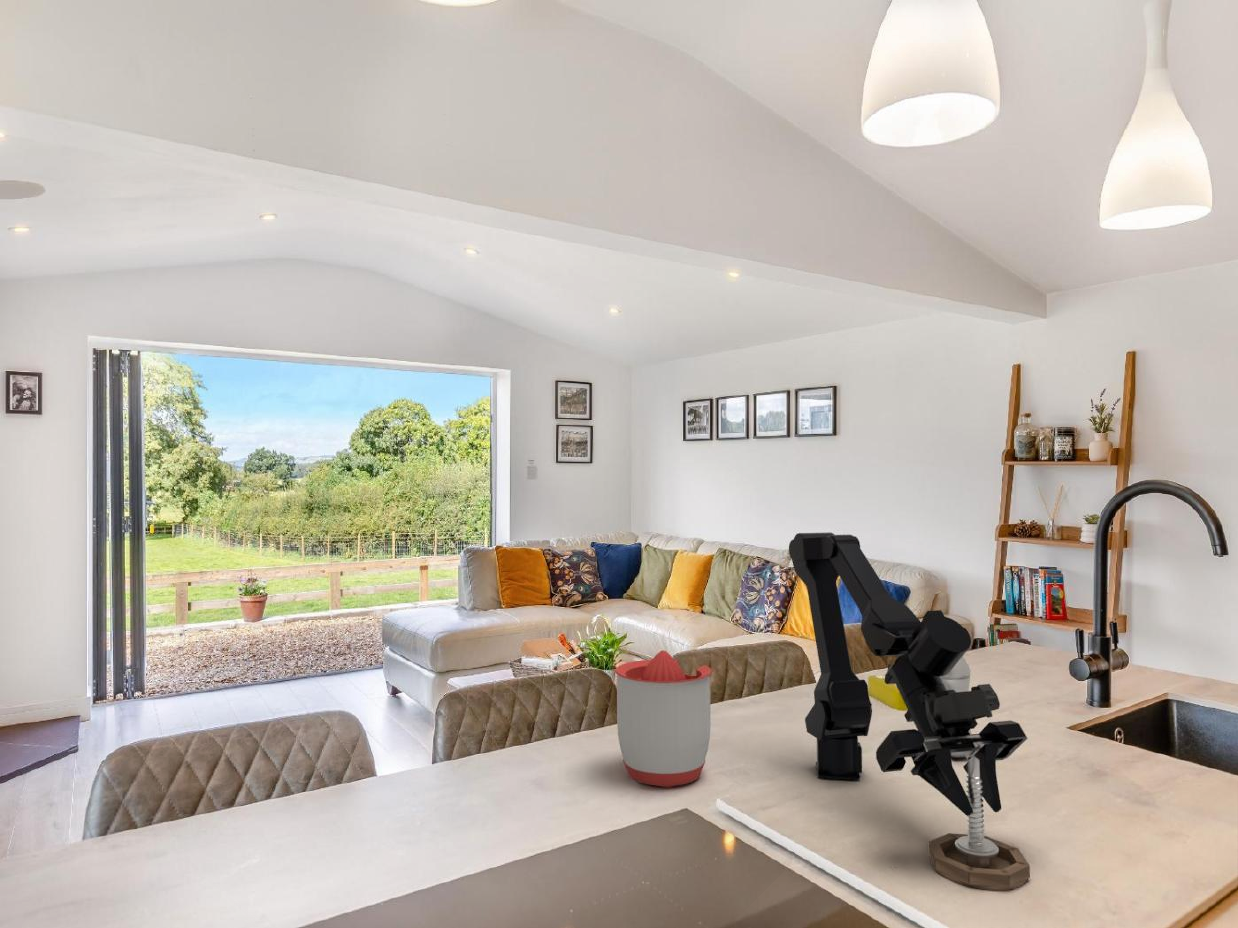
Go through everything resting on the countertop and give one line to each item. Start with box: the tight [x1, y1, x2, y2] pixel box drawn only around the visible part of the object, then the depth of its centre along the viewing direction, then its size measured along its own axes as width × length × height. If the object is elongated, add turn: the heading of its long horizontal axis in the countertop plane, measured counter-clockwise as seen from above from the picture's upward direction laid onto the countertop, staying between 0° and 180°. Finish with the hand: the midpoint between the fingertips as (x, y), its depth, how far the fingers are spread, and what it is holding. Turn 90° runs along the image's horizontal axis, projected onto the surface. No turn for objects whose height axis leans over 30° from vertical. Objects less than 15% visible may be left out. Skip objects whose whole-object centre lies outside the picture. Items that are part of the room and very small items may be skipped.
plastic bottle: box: [940, 655, 973, 758], centre depth 135 cm, size 6×7×20 cm
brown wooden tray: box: [928, 832, 1031, 892], centre depth 95 cm, size 11×11×2 cm
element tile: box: [867, 674, 908, 712], centre depth 171 cm, size 15×15×5 cm
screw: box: [955, 756, 999, 868], centre depth 95 cm, size 13×5×5 cm
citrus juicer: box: [614, 650, 713, 789], centre depth 127 cm, size 16×17×20 cm
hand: (984, 812), depth 94 cm, fingers open, 4 cm apart
